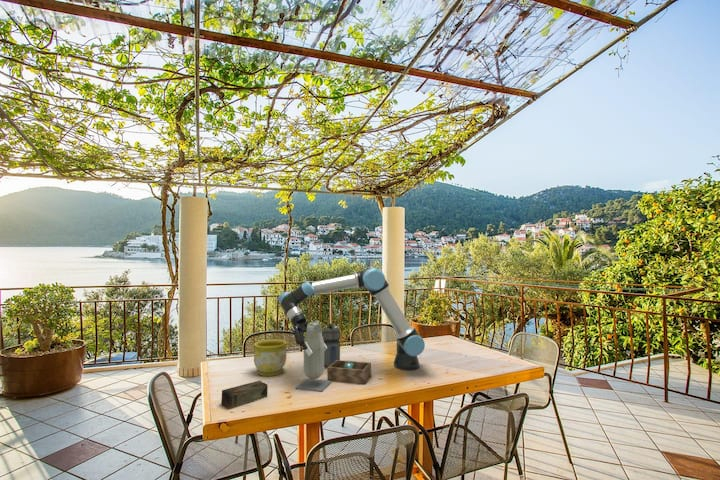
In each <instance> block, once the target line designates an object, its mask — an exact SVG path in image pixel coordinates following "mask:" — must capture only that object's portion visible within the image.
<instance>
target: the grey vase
mask: <svg viewBox="0 0 720 480" xmlns="http://www.w3.org/2000/svg"><path fill="white" fill-rule="evenodd" d="M322 329H323V328H322V325H321V324H320V322H317V321H310V322H308V326H307V332H305V333H306V335H305V337H304V342H307V344H308V346H309V347H310V349H311V351H312V352H313V353H312V354H311V355H310V356H308V354H307V352H306V351H305V350H304V349H303V372H304V375H305V376H306V377H307V378H308V379H318V380H319V379H320V378H321V377H322V376H323V374H324V370H325V367H324V341H325V340H324V339H323V337H322V334H323V331H322Z"/></svg>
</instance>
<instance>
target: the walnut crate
mask: <svg viewBox="0 0 720 480" xmlns="http://www.w3.org/2000/svg"><path fill="white" fill-rule="evenodd" d="M349 362H350V363H354V369H348V368H344V364H345V363H349ZM326 370H327V379H326V380H328V381H332V383H335V382H336V383H345V384H354V385H366V383H367V382H368V380H369V379H370V378H371V376H372V362H366V361H365V362H363V361H355V360H354V361H351V360H341V359H340V360H336V361H335V362H333V363H332V364H331V365H330V366H328V367H327V368H326Z"/></svg>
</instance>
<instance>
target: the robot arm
mask: <svg viewBox="0 0 720 480" xmlns="http://www.w3.org/2000/svg"><path fill="white" fill-rule="evenodd" d="M389 287H390V285H389V283H388V281H387V280H386V276H385V274H384V272H383V271H381V269H379V268H376V267H375V268H373V267H369V268H365V269H362V270H360V271H359V270H358V271H355V272H354V273H353V274H348V275H344V276H343V275H342V276H337V277H332V278H327V279H323V280H316V281H312V282H311V281H310V282H309V281H305V282H303V283H300V285H298V286H297V288H295V289H294V290H293V291H291V292H290V291H284V292H282V293H281V294H280V295H279V296H278V297H277V299H278V302H279V304H280V306H281V308H282V309H283V311H284V313H285V314H286V316H287V318H288V319H289V321H290V323H291V324H292V327H291V331H292V333H293V336H294V340H295V343H296V345H298V346H299V347H301V348H302V349H303V351H304V350H305V351H306V352H307V354H308V356H310V355H311V354H312V353H313V352H312V351H311V349H310V347H309V346H308V344H307V342H305V333H306V332H307V326H308V324H309V322H307V317H306V316H305V315H304V313H303V311H302V309H301V308H300V307H299V305H300V304H301V303H302V302H303V301H306V299H308V298H309V297H311V296H315V295H320V294H325V293H331V292H336V291H341V290H346V289H351V288H352V289H353V288H357V289H361V288H366V290H367V291H368V293H369V294H370V296H371V297H374V298H375V299H376V301H377V302H378V304H379V306H380V308H381V309H382V311H383V313H384V314H385V316H386V317H387V319H388V321H389V322H390V324H391V326H392V327H393V329H394V330H395V333H396V336H395V337H396V353H395V357H394V360H393V367H394V368H395V369H399V370H403V371H404V370H406V371H407V370H408V371H409V370H410V371H411V370H412V371H414V370H417V369H419V368H420V361H419V358H418V356H420V355H421V354H422V353H423V352H424V350H425V348H426V347H425V341H424V338H423V337H422V336H420V334H419V332H418V331H417V328H416V327H415V326H414V325H410V322H409V321H408V320H407V318H406V316H405V314H404V313H403V311H402V310H401V308H400V306H399V305H398V303H397V301H396V299H395V298H394V296H393V294H392V293H391V291H390V289H389ZM322 337H323V333H322ZM326 349H327V346H326V345H325V343H324V351H325V350H326Z"/></svg>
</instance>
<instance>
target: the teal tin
mask: <svg viewBox="0 0 720 480" xmlns="http://www.w3.org/2000/svg"><path fill="white" fill-rule="evenodd" d="M344 368H348V369H354V363H350V362H349V363H345V364H344Z"/></svg>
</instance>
